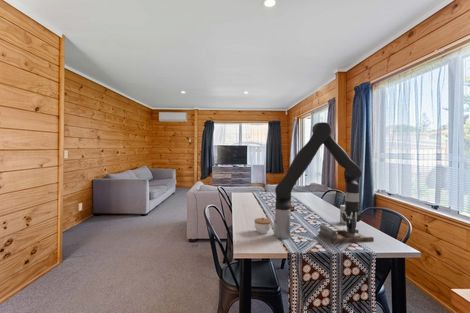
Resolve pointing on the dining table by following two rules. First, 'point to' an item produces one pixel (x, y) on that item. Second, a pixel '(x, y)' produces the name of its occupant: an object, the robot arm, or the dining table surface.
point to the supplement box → (342, 209)
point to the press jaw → (351, 230)
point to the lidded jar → (262, 225)
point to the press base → (340, 236)
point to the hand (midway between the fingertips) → (351, 228)
